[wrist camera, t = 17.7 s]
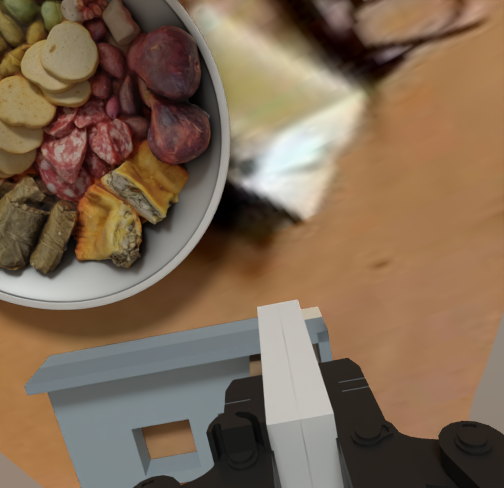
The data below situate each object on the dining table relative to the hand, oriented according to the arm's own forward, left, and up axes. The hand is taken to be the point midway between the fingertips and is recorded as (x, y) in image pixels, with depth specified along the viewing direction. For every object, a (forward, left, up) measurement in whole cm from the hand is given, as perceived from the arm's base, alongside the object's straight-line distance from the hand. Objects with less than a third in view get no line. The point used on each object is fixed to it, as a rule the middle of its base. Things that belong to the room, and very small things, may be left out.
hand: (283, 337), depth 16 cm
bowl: (-16, +10, -27) cm, 33 cm away
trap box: (-10, -19, -26) cm, 34 cm away
